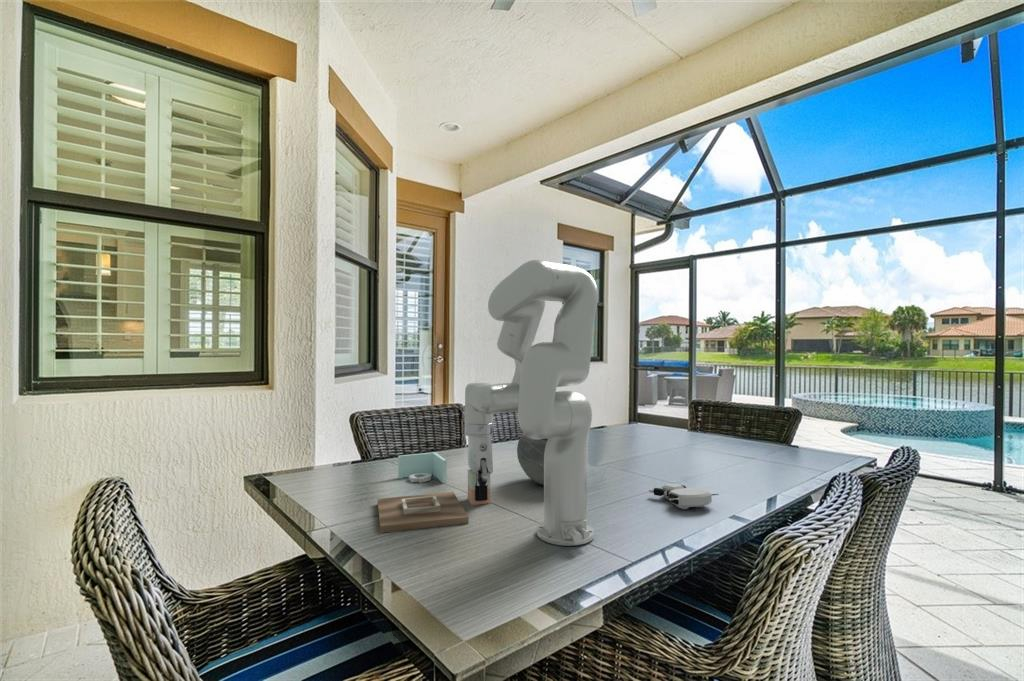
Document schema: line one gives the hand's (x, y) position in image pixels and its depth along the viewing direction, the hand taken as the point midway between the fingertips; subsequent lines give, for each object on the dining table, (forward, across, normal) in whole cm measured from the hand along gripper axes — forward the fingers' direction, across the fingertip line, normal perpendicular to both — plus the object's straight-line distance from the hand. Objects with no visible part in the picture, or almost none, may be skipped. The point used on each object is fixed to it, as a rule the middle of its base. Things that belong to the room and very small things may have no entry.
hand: (478, 496), depth 129 cm
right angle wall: (+2, +24, +12) cm, 27 cm away
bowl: (+2, +10, -25) cm, 27 cm away
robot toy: (+2, -17, -51) cm, 54 cm away
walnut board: (+1, -5, +16) cm, 17 cm away
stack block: (+1, 0, 0) cm, 1 cm away
